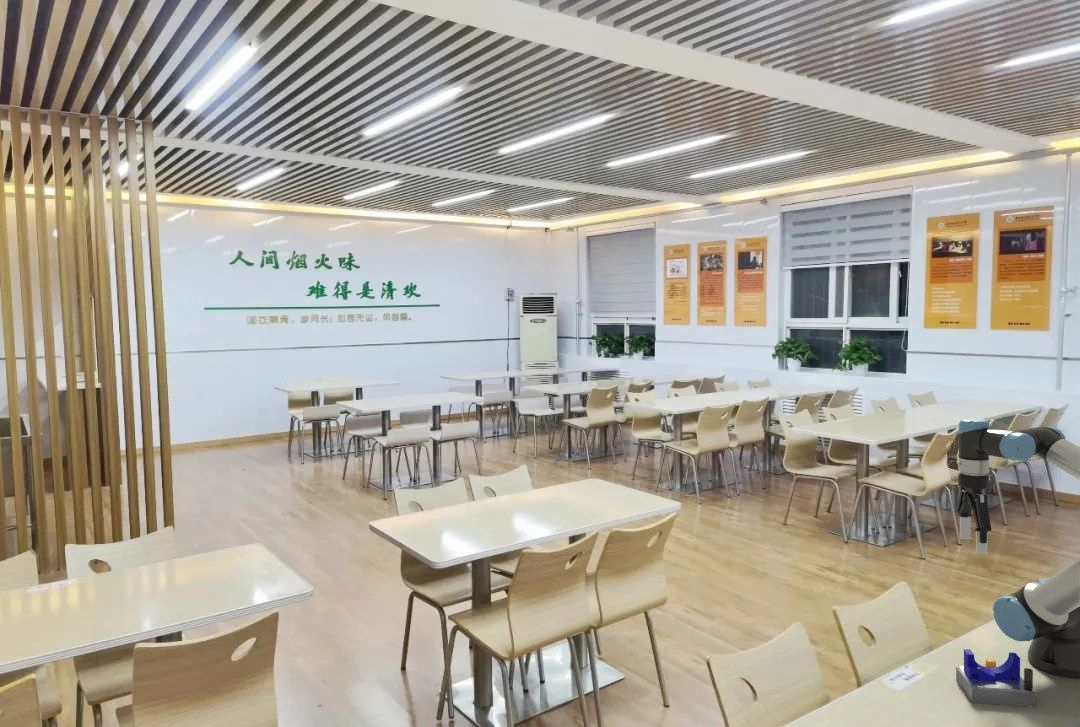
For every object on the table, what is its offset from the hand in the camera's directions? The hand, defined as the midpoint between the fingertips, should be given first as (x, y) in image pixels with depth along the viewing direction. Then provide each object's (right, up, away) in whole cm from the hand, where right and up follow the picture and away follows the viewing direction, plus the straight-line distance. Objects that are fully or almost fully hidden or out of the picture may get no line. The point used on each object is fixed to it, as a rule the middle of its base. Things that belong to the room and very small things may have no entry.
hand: (973, 546), depth 209 cm
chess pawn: (-2, -32, -12) cm, 34 cm away
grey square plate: (-8, -32, -22) cm, 40 cm away
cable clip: (-8, -29, -22) cm, 37 cm away
